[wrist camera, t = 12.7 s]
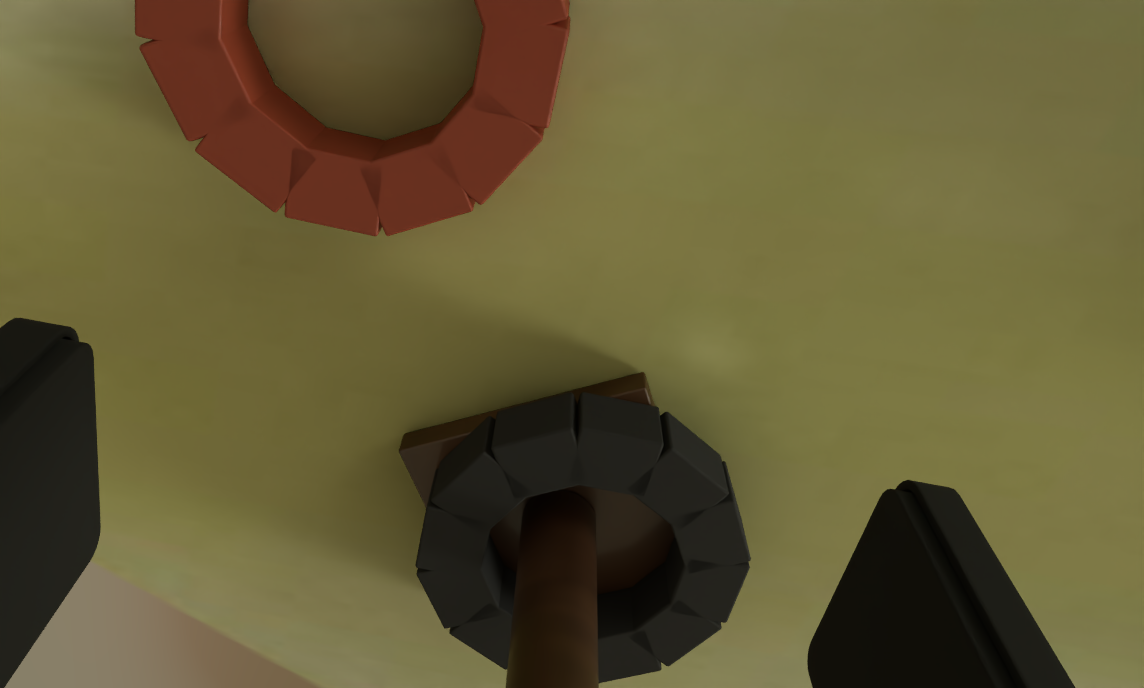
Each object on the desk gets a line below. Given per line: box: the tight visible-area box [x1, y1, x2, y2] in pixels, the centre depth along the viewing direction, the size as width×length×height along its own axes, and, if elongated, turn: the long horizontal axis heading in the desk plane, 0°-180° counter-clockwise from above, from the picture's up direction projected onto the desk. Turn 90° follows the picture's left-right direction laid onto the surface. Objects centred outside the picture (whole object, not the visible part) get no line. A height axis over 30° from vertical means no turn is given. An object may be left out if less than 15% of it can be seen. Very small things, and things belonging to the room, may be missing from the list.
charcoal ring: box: [416, 392, 751, 683], centre depth 29 cm, size 10×10×2 cm
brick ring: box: [135, 0, 570, 236], centre depth 22 cm, size 10×10×2 cm
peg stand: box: [399, 372, 674, 688], centre depth 26 cm, size 8×8×9 cm
